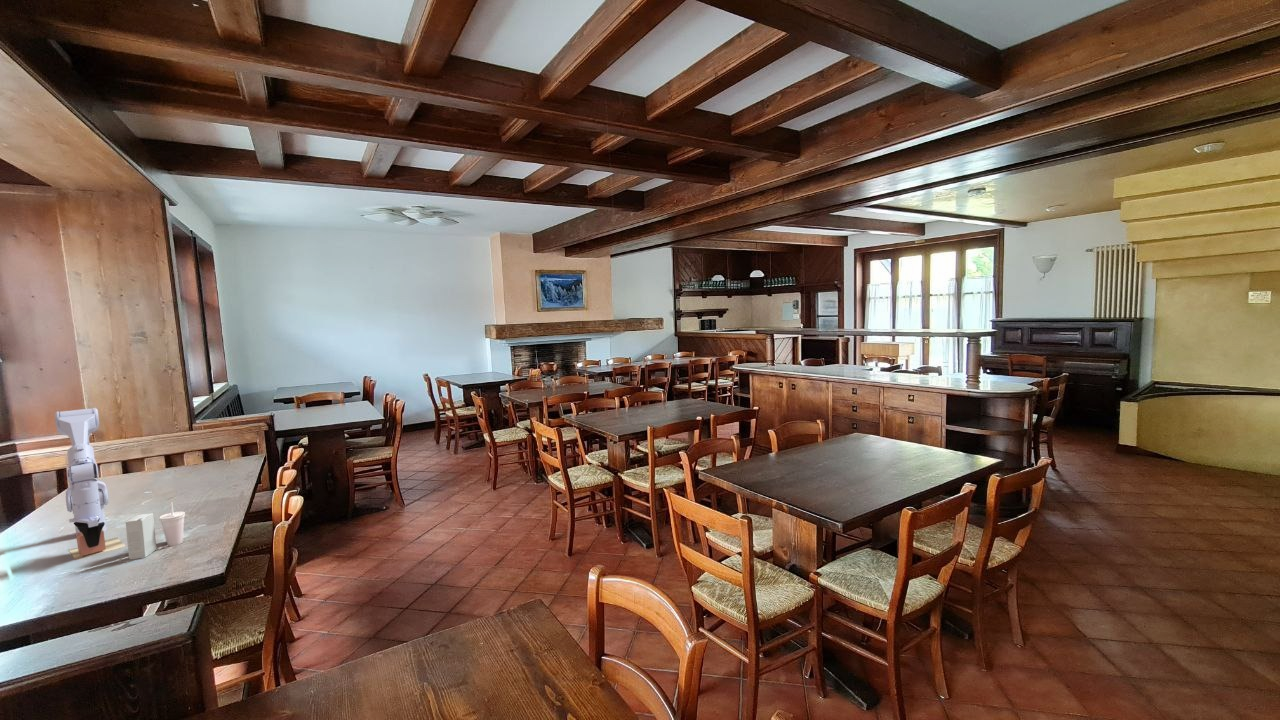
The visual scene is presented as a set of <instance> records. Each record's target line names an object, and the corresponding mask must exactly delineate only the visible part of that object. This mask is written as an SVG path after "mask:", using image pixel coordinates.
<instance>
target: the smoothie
mask: <svg viewBox="0 0 1280 720" xmlns="http://www.w3.org/2000/svg"><path fill="white" fill-rule="evenodd" d="M169 506H170V512H169V513H165V514H162V515H160V516H159V517H158V520H159V522H160V524H161V527H162V531H163V534H164V538H165V542H166V544H167V547H175V546H178V545H181V544H182V543H183V542H184V525H185V517H186V512H185V511H174V507H173V501H170V502H169Z"/></svg>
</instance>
